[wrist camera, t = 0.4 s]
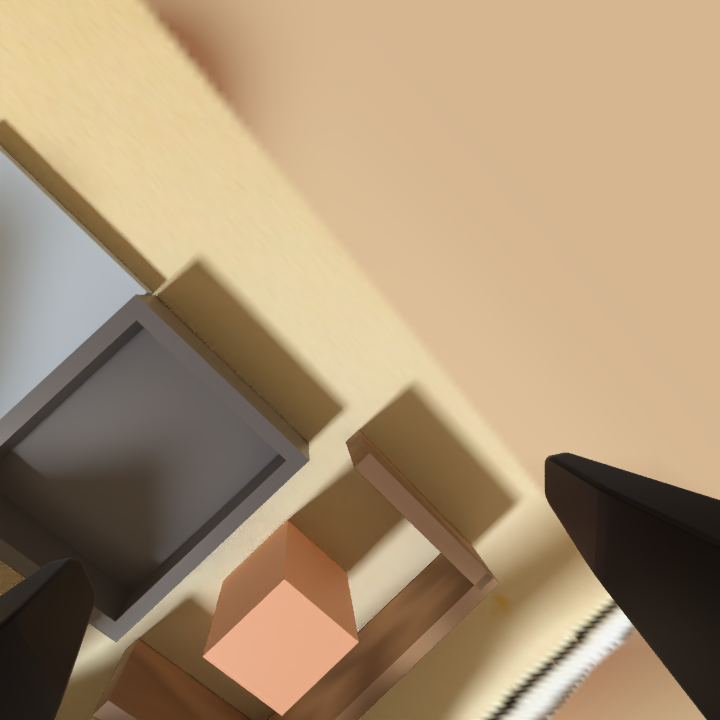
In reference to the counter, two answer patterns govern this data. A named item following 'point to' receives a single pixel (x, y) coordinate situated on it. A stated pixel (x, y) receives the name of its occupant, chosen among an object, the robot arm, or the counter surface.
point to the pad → (48, 283)
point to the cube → (282, 619)
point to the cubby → (376, 640)
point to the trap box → (137, 461)
